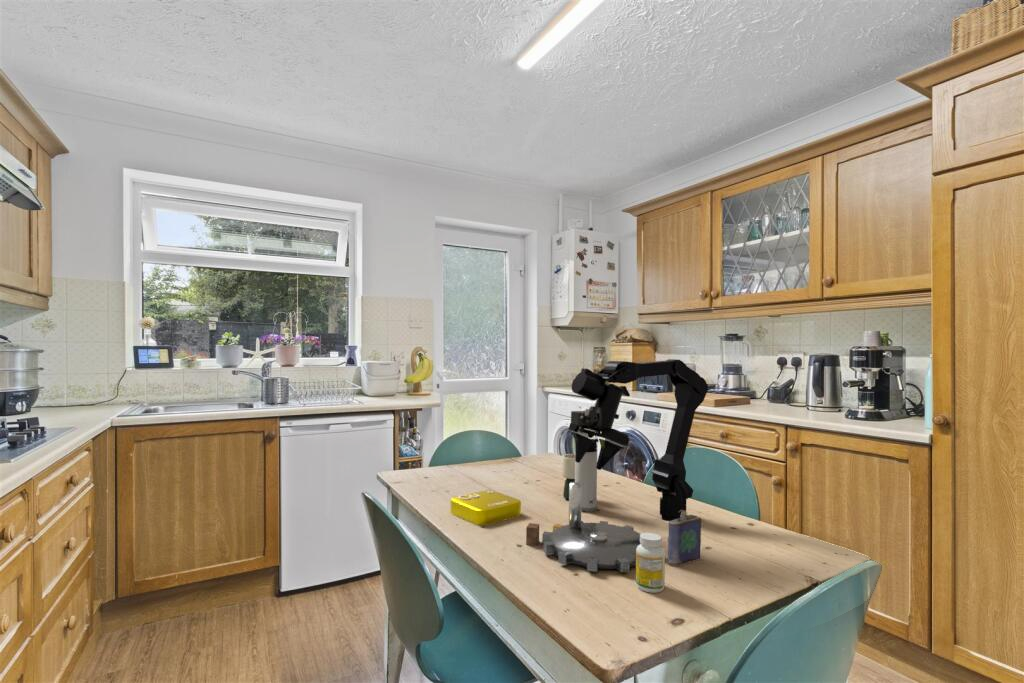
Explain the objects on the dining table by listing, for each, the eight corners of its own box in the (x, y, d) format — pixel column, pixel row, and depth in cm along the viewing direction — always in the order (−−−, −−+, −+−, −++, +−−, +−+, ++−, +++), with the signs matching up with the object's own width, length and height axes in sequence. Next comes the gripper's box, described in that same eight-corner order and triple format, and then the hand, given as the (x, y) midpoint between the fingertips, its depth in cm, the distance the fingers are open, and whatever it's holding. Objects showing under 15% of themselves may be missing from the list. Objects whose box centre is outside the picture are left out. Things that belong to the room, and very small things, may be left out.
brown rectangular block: (539, 541, 120) (539, 524, 120) (536, 545, 117) (536, 528, 117) (529, 539, 120) (529, 523, 120) (526, 544, 117) (526, 527, 117)
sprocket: (681, 557, 110) (682, 500, 110) (588, 582, 97) (589, 517, 97) (605, 522, 132) (606, 474, 132) (522, 539, 119) (522, 486, 119)
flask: (674, 567, 106) (674, 515, 106) (663, 562, 108) (663, 512, 109) (703, 559, 111) (704, 509, 111) (692, 554, 113) (693, 506, 113)
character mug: (594, 501, 152) (594, 458, 152) (574, 505, 149) (575, 460, 149) (572, 492, 162) (572, 451, 162) (553, 495, 158) (554, 453, 158)
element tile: (480, 528, 129) (480, 509, 129) (447, 513, 140) (447, 496, 140) (523, 516, 139) (524, 499, 139) (489, 503, 150) (489, 487, 150)
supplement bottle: (657, 596, 93) (657, 543, 93) (630, 587, 97) (631, 536, 97) (669, 586, 97) (669, 536, 97) (643, 578, 101) (643, 529, 101)
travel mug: (597, 513, 141) (598, 441, 142) (573, 511, 143) (574, 440, 143) (598, 506, 148) (598, 437, 148) (575, 504, 149) (576, 436, 149)
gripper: (562, 393, 135) (543, 449, 132) (604, 398, 119) (583, 463, 116) (594, 407, 140) (576, 462, 137) (639, 414, 123) (619, 477, 120)
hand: (587, 465), depth 127 cm, fingers open, 9 cm apart
